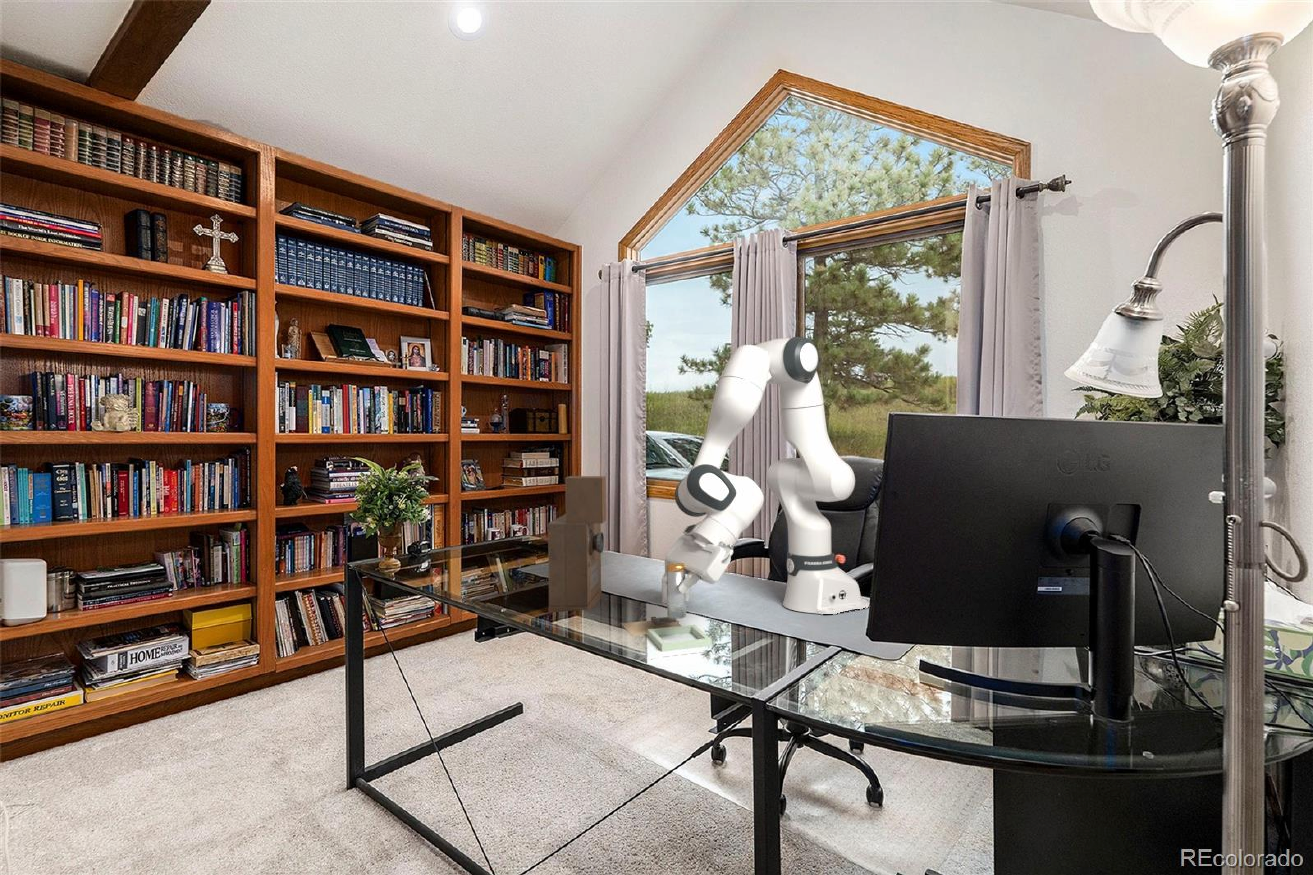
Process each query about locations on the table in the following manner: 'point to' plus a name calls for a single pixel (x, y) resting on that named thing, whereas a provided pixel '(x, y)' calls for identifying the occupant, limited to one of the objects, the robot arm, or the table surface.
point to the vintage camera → (577, 546)
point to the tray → (678, 645)
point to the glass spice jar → (675, 591)
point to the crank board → (649, 625)
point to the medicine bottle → (664, 586)
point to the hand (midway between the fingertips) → (673, 588)
